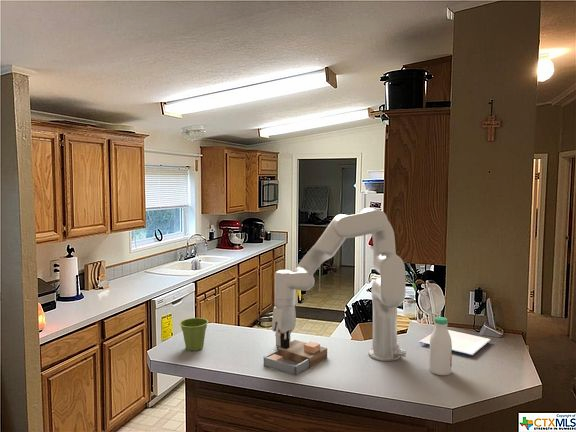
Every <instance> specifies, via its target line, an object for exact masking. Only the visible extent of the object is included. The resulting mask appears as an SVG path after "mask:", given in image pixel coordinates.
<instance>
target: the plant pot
mask: <svg viewBox="0 0 576 432" xmlns="http://www.w3.org/2000/svg"><path fill="white" fill-rule="evenodd" d="M208 323H209V320H208V319H206V318H202V317H190V318H186V319H185V318H184V319H183V320H181V321H180V322H179V325H180V328H181V330H182V334H183V339H184V341H183V342H184V345H185V349H186V350H187V351H189V350H190V351H196V350H197V351H199V350H202V349H203V348H204V345H205V338H206V337H205V336H206V330H207V325H208Z"/></svg>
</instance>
